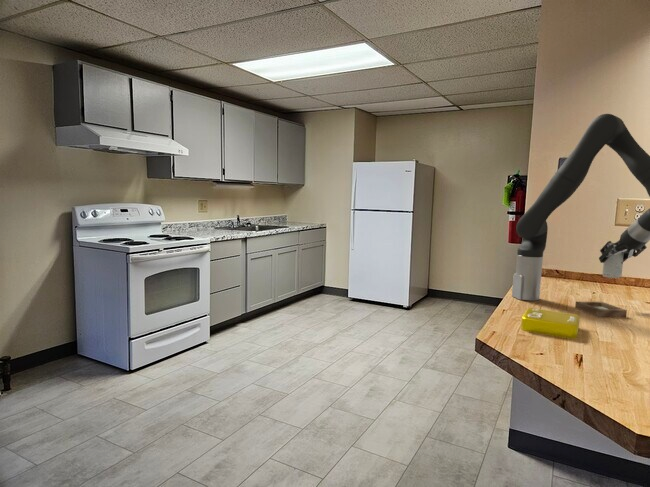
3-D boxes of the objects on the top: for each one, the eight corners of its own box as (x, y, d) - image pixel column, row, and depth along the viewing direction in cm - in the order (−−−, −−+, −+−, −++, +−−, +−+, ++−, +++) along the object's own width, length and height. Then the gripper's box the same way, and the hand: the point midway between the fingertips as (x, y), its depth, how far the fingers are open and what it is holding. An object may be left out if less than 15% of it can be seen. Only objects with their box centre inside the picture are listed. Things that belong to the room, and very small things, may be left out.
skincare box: (614, 278, 156) (618, 245, 154) (601, 276, 160) (604, 244, 158) (622, 277, 159) (626, 245, 158) (608, 275, 163) (612, 243, 161)
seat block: (598, 317, 145) (599, 310, 145) (575, 308, 157) (575, 301, 157) (626, 317, 146) (626, 310, 146) (600, 308, 158) (601, 301, 158)
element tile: (576, 341, 122) (578, 325, 121) (519, 331, 130) (521, 316, 129) (578, 328, 134) (580, 313, 134) (526, 319, 142) (527, 305, 142)
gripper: (653, 225, 150) (623, 253, 163) (615, 224, 149) (588, 252, 162) (664, 242, 146) (632, 269, 159) (625, 241, 144) (596, 268, 157)
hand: (610, 260), depth 160 cm, fingers closed on skincare box, 7 cm apart
